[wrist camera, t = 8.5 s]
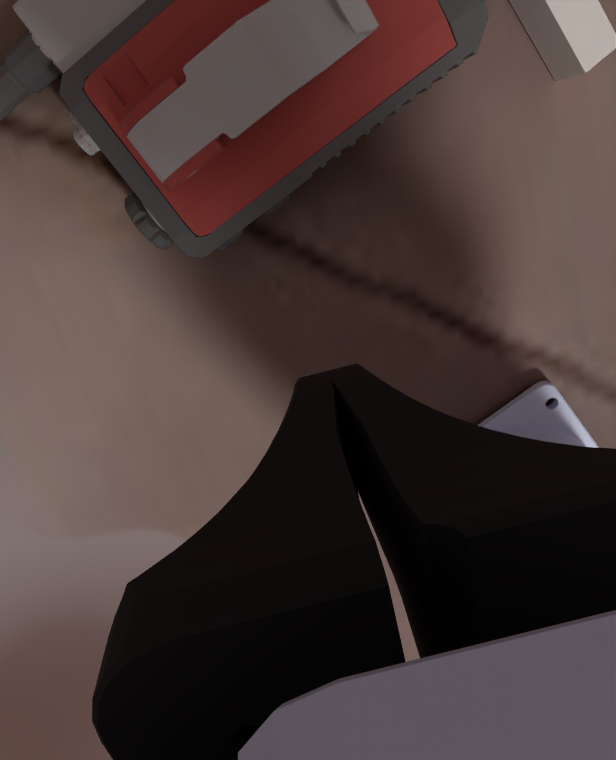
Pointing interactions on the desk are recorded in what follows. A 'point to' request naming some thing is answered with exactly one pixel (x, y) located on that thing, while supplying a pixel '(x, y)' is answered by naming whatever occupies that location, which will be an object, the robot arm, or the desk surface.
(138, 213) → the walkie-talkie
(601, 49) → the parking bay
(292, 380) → the desk surface
